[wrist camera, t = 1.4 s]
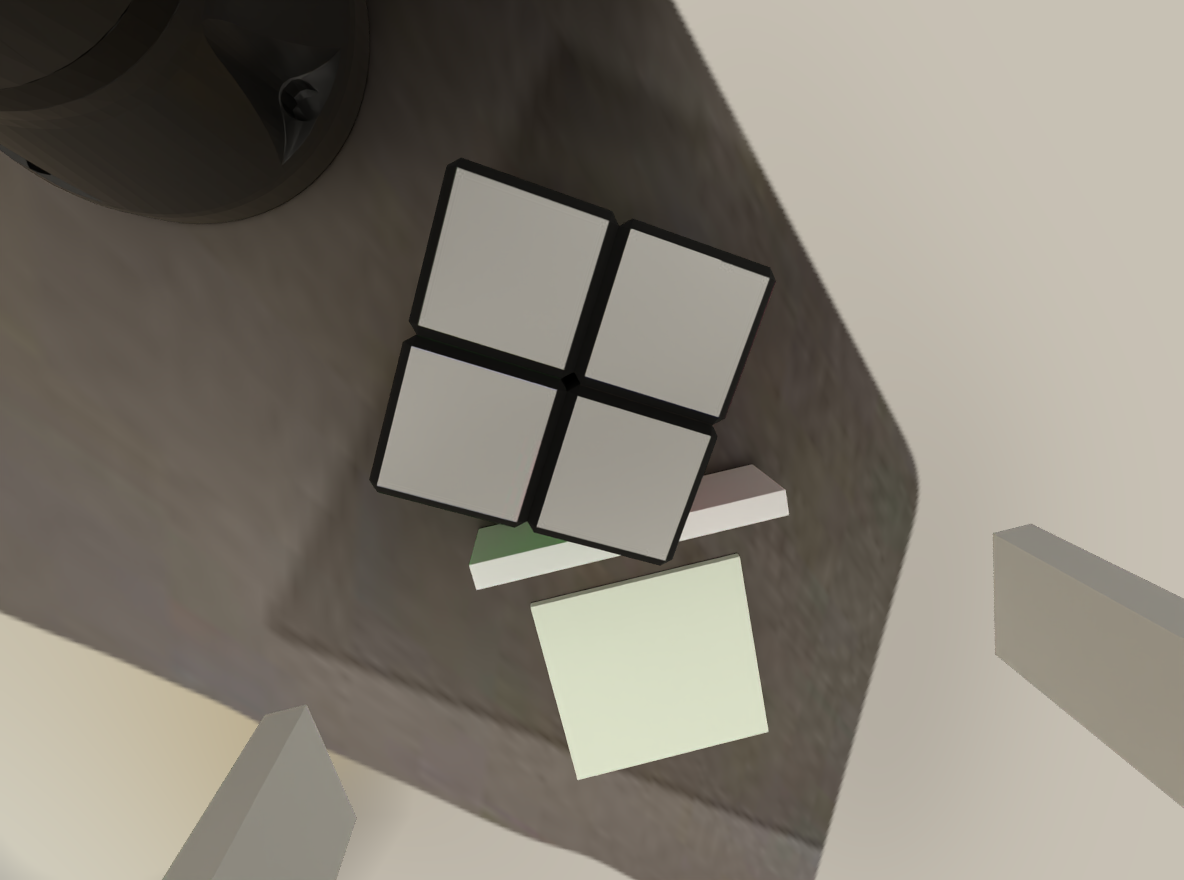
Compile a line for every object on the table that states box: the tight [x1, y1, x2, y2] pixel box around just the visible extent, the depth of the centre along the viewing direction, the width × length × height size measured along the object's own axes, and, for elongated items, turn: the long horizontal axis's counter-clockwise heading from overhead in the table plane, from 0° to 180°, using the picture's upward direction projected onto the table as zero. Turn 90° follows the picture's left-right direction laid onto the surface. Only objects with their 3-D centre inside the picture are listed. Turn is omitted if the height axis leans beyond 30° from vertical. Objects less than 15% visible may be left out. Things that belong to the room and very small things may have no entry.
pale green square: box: [531, 553, 768, 780], centre depth 31 cm, size 11×11×1 cm
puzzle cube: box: [369, 158, 776, 565], centre depth 22 cm, size 10×10×10 cm
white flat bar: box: [469, 464, 789, 590], centre depth 27 cm, size 14×1×4 cm, turn 102°
